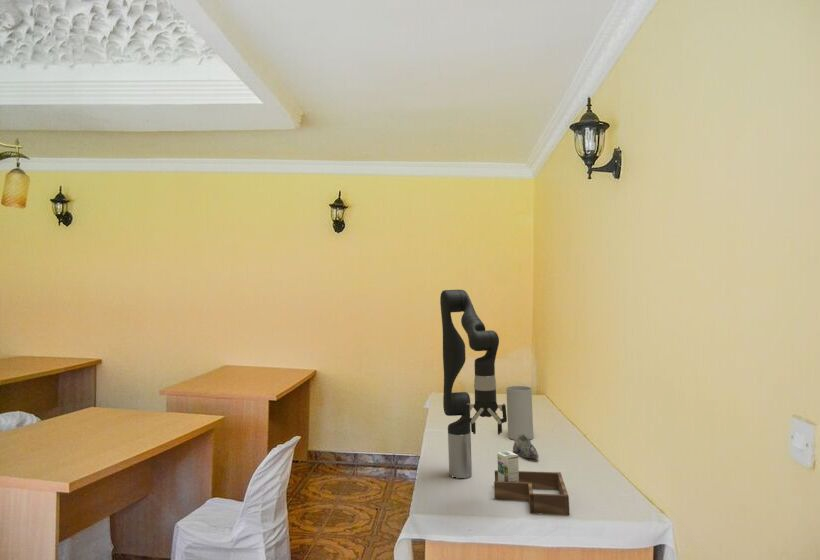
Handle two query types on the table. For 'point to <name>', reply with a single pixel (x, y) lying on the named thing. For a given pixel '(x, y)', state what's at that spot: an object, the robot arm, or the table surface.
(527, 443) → the mineral rock
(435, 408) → the table surface
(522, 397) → the cylinder vase
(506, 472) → the syrup box
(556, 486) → the walnut corridor
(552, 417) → the table surface
